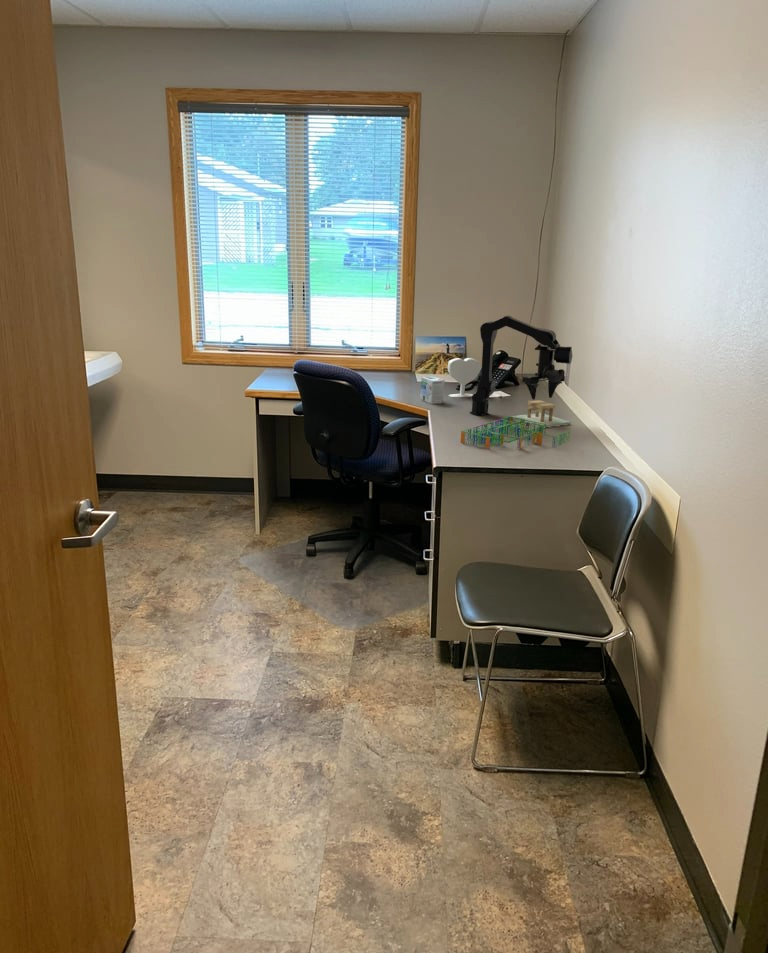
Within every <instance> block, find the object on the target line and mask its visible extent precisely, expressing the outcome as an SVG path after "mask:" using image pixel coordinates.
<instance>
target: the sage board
mask: <svg viewBox="0 0 768 953" xmlns="http://www.w3.org/2000/svg"><path fill="white" fill-rule="evenodd" d="M535 414H536V412H535V413H531V418H528V417H527V415H528V413H527V414H520V415H519V414H518V415H511V417H516V418H521V419H525V420H528V421H525V422H529V421H533V422H530V426H532V427H531V428H533V427H534V425H533V424H531V423H534V422H538V423H535V424H539V423H543V424H540V425H544V424H546V427H549V428H552V427H551V426H556V427H561V426H560V425H564V426H569V425H568V424H570V425H571V421H569V420H565V419H562V418H560V417H556V416H554V415H552V421H549V414H546V413H545V416H544V422H541V412H539V417H535ZM516 418H515V419H514V418H513V422H516V423H518V424H520V420H519V419H516ZM518 421H519V422H518ZM530 426H529V427H530ZM536 427H538V428H539V426H538V425H535V429H536ZM544 427H545V425H544ZM544 427H543V429H545V428H544Z"/></svg>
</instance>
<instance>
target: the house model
mask: <svg viewBox="0 0 768 953" xmlns="http://www.w3.org/2000/svg"><path fill="white" fill-rule="evenodd" d="M511 416H512V415H511ZM511 416H510V415H509V416H506V417H503V418H500V419H496V420H493V421H489V422H487V423H483V424H479V425H475V426H473V427H470V428H467V429H465V430H463V429H462V430H461V432H460V443H462V444H467V443H468V445H470V446H476V447H479V446H480V447H481V448H483V446H482V445H485V446H484V448H485V449H487V448H488V449H487V450H490V448H496V447H499V446H502V445H504V443H512V442H515V441H516V447H517V449H518V448H521V449H522V448H524V446H526V447H527V446H530V444H531V445H533V444H532V443H534V444H536V443H537V445H540V444H542V445H543V436H545V437H548V438H549V437H550V438H552V446H551V447H552V448H556V447H558V446H561V445H562V444H563V443H564V444H566V443H568V441H570V438H569V437H568V435H570V433H571V430H568V431H565V432H562V433H559V434H557V435H552V434H548V433H546V432H547V428H546V424H544V425H545V428H543V427H544V425H540V424H543V423H539V424H535V423H538V422H534V423H531V424H533V425H534V428H533V427H530V422H533V421H529V422H525V421H528V420H525V419H521V418H516V417H511ZM513 418H514V419H515V418H516V419H519V420H520V423H519V421H518V422H516V421H513ZM517 423H519V424H517ZM524 424H526V425H524ZM535 425H538V426H539V428H538V427H536V428H537V429H536V428H535ZM489 426H490V427H489ZM506 427H507V428H506ZM472 430H473V431H472ZM519 430H521V431H519ZM496 431H498V432H496ZM472 432H473V433H472ZM514 432H515V433H514ZM526 432H527V433H526ZM528 432H529V433H528ZM487 435H488V436H487ZM514 435H515V436H514ZM517 435H518V436H517ZM563 435H564V437H563ZM475 437H476V438H475ZM500 437H501V438H500ZM504 437H508V438H512V439H511V440H504ZM519 437H520V438H519ZM524 438H525V439H526V442H524V444H525V445H522V440H523V439H524ZM531 438H532V440H531ZM529 440H530V441H531V443H529V442H530V441H529ZM467 441H468V442H467ZM469 443H470V444H469Z"/></svg>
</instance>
